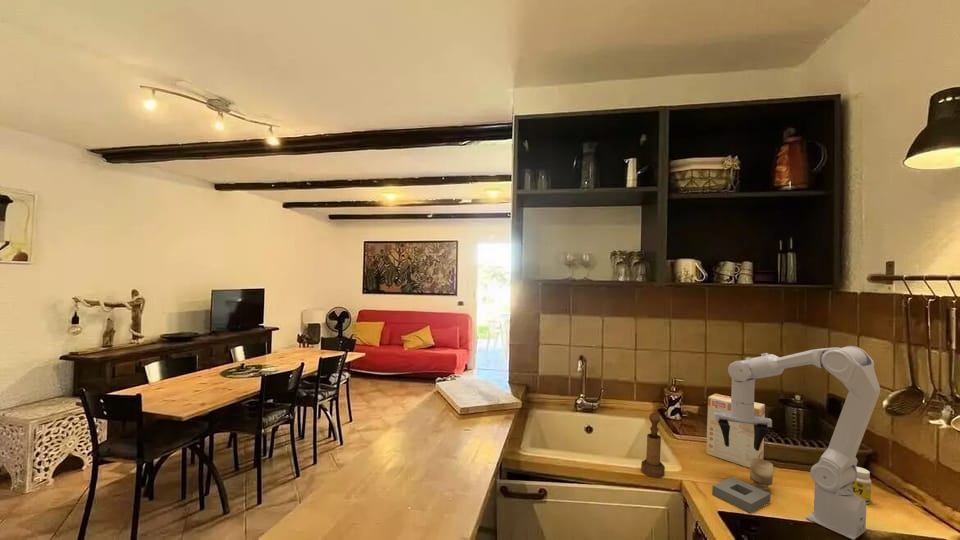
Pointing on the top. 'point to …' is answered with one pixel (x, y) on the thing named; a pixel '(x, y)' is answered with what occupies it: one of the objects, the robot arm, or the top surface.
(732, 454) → the coffeecake box
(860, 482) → the supplement bottle
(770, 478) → the beech peg
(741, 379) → the robot arm
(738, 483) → the grey slotted base
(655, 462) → the mortar and pestle
